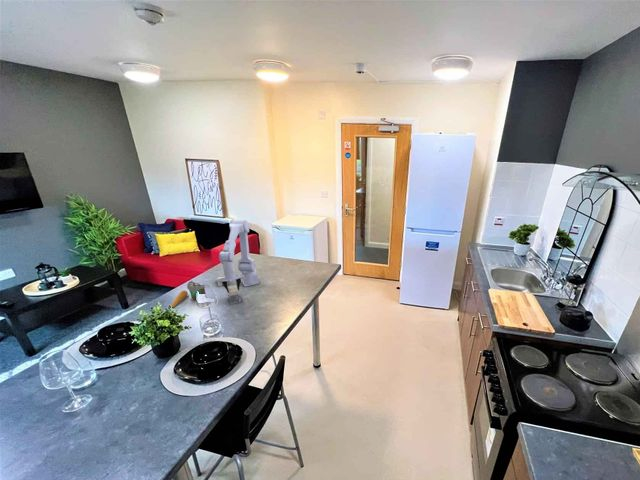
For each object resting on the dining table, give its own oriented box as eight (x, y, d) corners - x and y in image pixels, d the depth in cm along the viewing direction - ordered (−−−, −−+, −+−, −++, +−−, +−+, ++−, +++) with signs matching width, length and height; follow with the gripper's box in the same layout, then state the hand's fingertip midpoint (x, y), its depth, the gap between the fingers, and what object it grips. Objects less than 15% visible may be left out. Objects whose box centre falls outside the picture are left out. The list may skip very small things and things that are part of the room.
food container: (185, 298, 176) (181, 284, 172) (195, 294, 181) (191, 280, 177) (198, 303, 171) (194, 288, 166) (207, 299, 176) (204, 284, 171)
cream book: (236, 288, 178) (236, 285, 177) (239, 293, 172) (238, 290, 171) (228, 290, 175) (227, 287, 175) (229, 295, 169) (229, 292, 168)
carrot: (184, 296, 180) (179, 290, 178) (190, 293, 179) (185, 288, 177) (166, 316, 163) (161, 310, 160) (173, 313, 162) (167, 307, 160)
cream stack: (226, 279, 201) (225, 276, 200) (227, 284, 194) (227, 280, 193) (217, 281, 199) (216, 277, 197) (218, 286, 192) (217, 282, 191)
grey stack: (238, 295, 180) (238, 292, 179) (241, 302, 174) (240, 298, 173) (228, 298, 178) (228, 294, 177) (230, 304, 171) (230, 300, 170)
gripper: (216, 275, 161) (220, 297, 167) (243, 271, 168) (247, 291, 174) (215, 271, 167) (219, 291, 172) (241, 266, 173) (245, 286, 179)
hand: (233, 291), depth 173 cm, fingers closed on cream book, 5 cm apart
